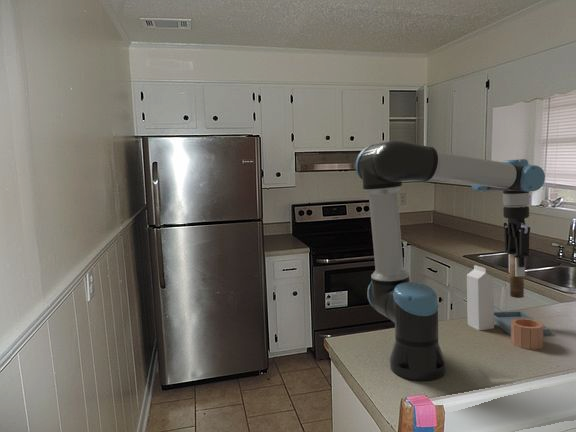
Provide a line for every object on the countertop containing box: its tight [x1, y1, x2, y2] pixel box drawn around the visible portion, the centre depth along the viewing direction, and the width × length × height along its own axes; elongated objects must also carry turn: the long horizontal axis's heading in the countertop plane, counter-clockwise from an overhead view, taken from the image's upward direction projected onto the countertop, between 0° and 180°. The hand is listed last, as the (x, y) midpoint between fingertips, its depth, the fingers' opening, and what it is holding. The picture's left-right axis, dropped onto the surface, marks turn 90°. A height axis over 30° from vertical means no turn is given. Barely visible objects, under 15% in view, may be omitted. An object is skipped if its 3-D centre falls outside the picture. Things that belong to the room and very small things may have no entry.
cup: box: [510, 318, 544, 350], centre depth 124 cm, size 8×8×8 cm
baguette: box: [509, 255, 525, 299], centre depth 137 cm, size 4×4×14 cm
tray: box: [494, 310, 551, 337], centre depth 139 cm, size 12×18×3 cm, turn 176°
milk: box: [466, 264, 495, 331], centre depth 139 cm, size 6×6×22 cm
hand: (516, 274), depth 137 cm, fingers closed on baguette, 4 cm apart
